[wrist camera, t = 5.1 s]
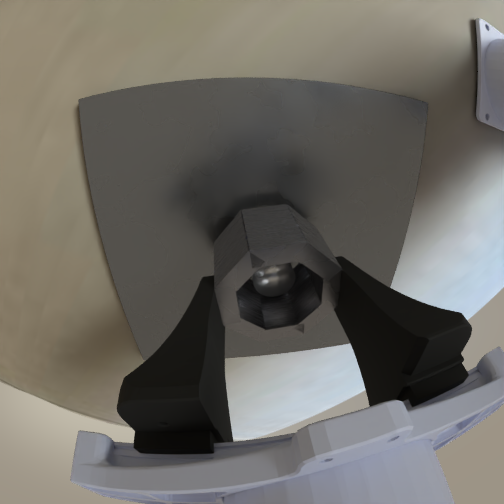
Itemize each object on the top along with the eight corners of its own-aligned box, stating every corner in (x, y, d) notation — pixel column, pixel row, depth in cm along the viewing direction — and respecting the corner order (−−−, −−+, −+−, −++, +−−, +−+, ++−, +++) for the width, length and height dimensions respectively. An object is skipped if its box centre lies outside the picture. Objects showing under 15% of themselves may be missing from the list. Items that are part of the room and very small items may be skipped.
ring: (317, 200, 13) (345, 236, 10) (314, 283, 16) (334, 328, 13) (208, 214, 13) (207, 256, 10) (225, 298, 16) (228, 346, 13)
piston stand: (421, 101, 12) (459, 109, 10) (367, 334, 22) (382, 363, 19) (83, 98, 11) (51, 103, 8) (144, 353, 20) (139, 387, 17)
